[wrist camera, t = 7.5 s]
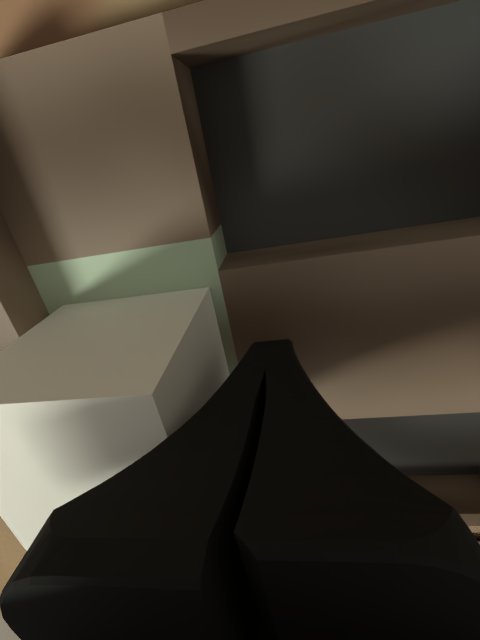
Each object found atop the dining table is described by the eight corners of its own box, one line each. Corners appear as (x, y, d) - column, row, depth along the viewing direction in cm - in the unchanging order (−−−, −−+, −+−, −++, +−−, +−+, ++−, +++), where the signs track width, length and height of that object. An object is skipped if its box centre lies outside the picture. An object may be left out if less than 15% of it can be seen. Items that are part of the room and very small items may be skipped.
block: (238, 413, 13) (212, 561, 8) (114, 420, 14) (29, 555, 9) (209, 286, 10) (151, 394, 6) (63, 305, 11) (-80, 409, 7)
